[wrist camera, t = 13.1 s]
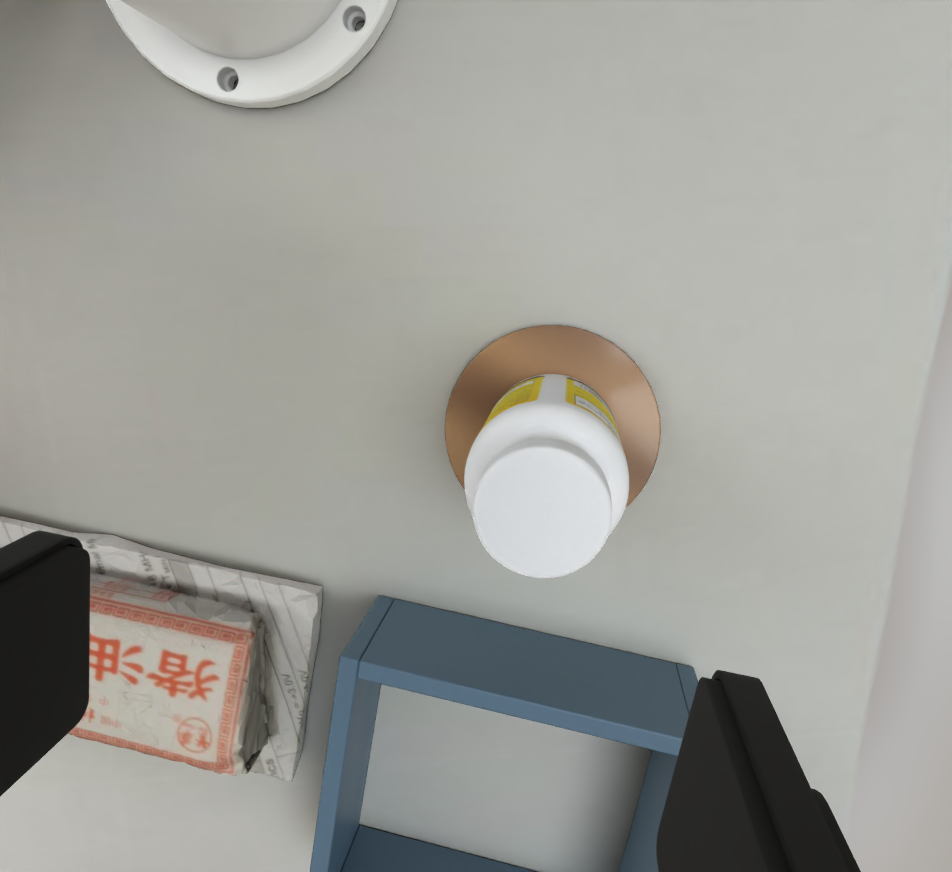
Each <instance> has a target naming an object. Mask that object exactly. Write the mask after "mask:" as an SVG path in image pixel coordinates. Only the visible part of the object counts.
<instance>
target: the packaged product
mask: <svg viewBox="0 0 952 872" xmlns="http://www.w3.org/2000/svg"><path fill="white" fill-rule="evenodd" d="M38 530H39V531H46V532H51V533H56V534H60V535H65V536H70V537H75V538H77V539H78V540H80V542H81V544H82V546H83V549H85V550H86V551H88V553H89V555H90V656H89V703H88V706H87V709H86V712H85V714H84V716H83V717H82V719H81V720H80V722H79V723H78V724H77V725H76V726H75V727H74V728H73V729H72V730H71V731H70V732H69V734H70V735H75V736H76V737H79V738H83V739H87V740H93V741H98V742H101V743H105V744H108V745H113V746H117V747H122V748H128V749H131V750H135V751H138V752H141V753H144V754H148V755H153V756H157V757H161V758H164V759H168V760H172V761H179V762H185V763H187V764H189V765H192V766H195V767H198V768H201V769H204V770H211V771H214V772H217V773H219V774H229V775H232V776H237V775H241V774H247V773H248V772H249V771H252V772H255V773H262V774H266V775H269V776H274V777H277V778H279V779H282V780H286V781H292V780H293V778H294V775H295V772H296V769H297V766H298V763H299V760H300V756H301V751H302V747H303V740H304V732H305V724H306V716H307V708H308V700H309V694H310V688H311V682H312V676H313V670H314V663H315V657H316V651H317V645H318V639H319V632H320V620H321V606H322V592H323V587H322V586H317V585H312V584H307V583H302V582H297V581H292V580H287V579H282V578H277V577H272V576H267V575H262V574H257V573H252V572H247V571H242V570H237V569H232V568H227V567H222V566H218V565H214V564H210V563H207V562H203V561H199V560H195V559H191V558H187V557H183V556H179V555H175V554H172V553H168V552H164V551H160V550H156V549H152V548H149V547H146V546H143V545H140V544H137V543H135V542H132V541H129V540H126V539H123V538H120V537H117V536H115V535H107V534H91V533H74V532H69V531H64V530H60V529H56V528H52V527H48V526H44V525H40V524H35V523H31V522H26V521H21V520H17V519H12V518H7V517H2V516H0V548H2V547H4V546H6V545H8V544H10V543H12V542H14V541H16V540H18V539H20V538H22V537H24V536H26V535H28V534H30V533H32V532H35V531H38Z"/></svg>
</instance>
